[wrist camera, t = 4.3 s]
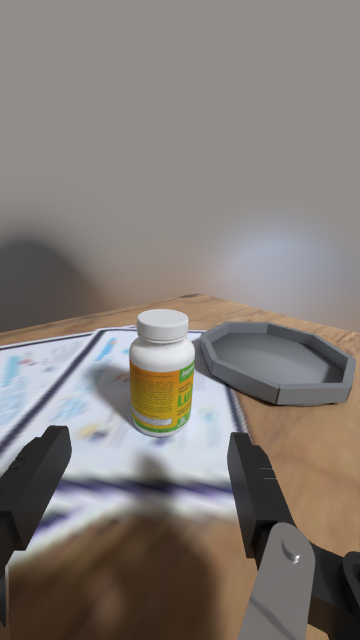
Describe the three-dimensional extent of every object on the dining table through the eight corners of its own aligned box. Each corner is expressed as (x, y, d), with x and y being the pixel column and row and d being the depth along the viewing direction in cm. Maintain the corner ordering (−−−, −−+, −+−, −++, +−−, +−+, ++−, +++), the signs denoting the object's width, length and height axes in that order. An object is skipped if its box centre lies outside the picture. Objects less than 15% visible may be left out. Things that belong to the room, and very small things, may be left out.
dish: (176, 362, 29) (177, 345, 29) (238, 326, 43) (239, 314, 42) (337, 440, 19) (346, 417, 18) (353, 360, 32) (358, 345, 31)
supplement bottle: (185, 445, 18) (193, 333, 14) (122, 433, 19) (115, 325, 15) (193, 399, 23) (200, 309, 19) (143, 392, 24) (141, 304, 20)
